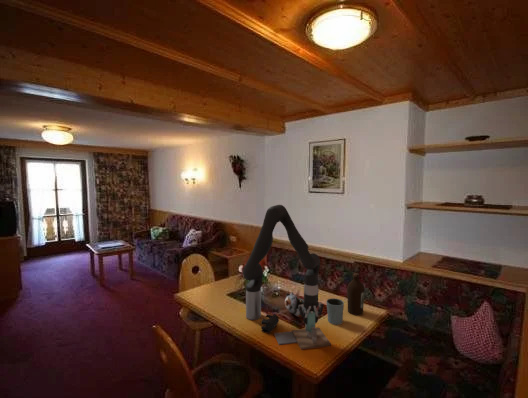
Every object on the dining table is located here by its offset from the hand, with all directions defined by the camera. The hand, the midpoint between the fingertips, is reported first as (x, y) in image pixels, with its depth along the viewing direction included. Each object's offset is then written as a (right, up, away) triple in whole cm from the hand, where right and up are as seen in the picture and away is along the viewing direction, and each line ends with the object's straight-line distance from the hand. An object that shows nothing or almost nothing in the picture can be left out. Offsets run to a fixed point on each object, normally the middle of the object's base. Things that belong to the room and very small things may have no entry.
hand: (310, 322), depth 150 cm
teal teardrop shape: (0, -4, 0) cm, 4 cm away
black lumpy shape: (-21, -8, +11) cm, 25 cm away
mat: (-13, -9, +1) cm, 16 cm away
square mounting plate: (0, -9, +1) cm, 9 cm away
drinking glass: (+18, -8, +19) cm, 27 cm away
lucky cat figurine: (-4, -7, +29) cm, 30 cm away
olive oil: (+34, -7, +31) cm, 46 cm away
